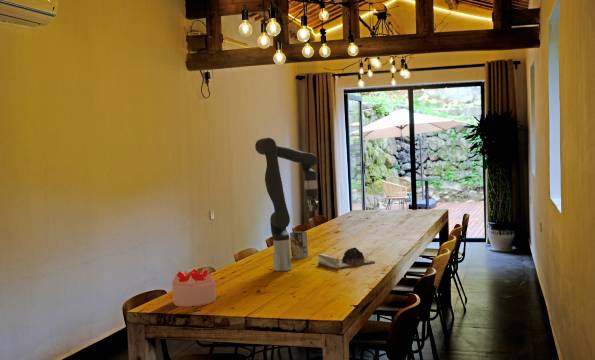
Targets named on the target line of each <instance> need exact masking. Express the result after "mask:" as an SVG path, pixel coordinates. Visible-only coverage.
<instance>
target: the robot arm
mask: <svg viewBox="0 0 595 360" xmlns="http://www.w3.org/2000/svg"><path fill="white" fill-rule="evenodd" d="M254 145H255V146H254V147H255V150H256V152H257V153H258V154H259V155H264V156H265V161H266V168H265V174H264V183H265V184H264V185H265V187H266V191H267V194H268V196H269V198H270V200H271V202H272V205H273V210H274V212H272V213H271V215H270V220H269V223H270V231H271V236H272V240H273V241H272V242H273V243H272V244H273V253H272V259H273V260H272V261H273V270H274V271H275V272H285V271H287V272H288V271H290V270H292V254H291V241H290V233H289V232H288V230H287V227H289V225H290V222H291V218H290V217H291V216H290V214H289V210H288V206H287V204H286V199H285V198H286V197H285V193H284V185H283V180H282V177H281V169H280V165H279V158H281V159H285V160H286V161H291V162H294V163H296V164H297V163H299V164H300V165H301V168H302V171H303V176H304V177H303V178H304V196H305V197H307V198H306V199H307V200H306V201H305V205H306V207H307V209H308V210H309V211H310V217H311V218H315V217H316V211H317V210H318V208H319V205H320V201H318V200H317V196H319V191H318V181H317V180H318V179H317V172H316V170H314V169H313V168H312V167H313V166H315V165H316V166H317V164H318V162H319V160H318V157H317V156H316V155H315V154H314V153H310V152H305V151H301V150H298V149H295V148H293V147H286V146H280V145H277V143H276V141H275V139H274V138H272V137H263V138H260V139H257V141H256V142H255V144H254Z"/></svg>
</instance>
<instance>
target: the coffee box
mask: <svg viewBox="0 0 595 360" xmlns="http://www.w3.org/2000/svg"><path fill="white" fill-rule="evenodd" d="M307 236H308V235H307V231H292V232H289V240H290V254H291V259H306V258H308V257H309V250H308V247H309V246H308V237H307Z"/></svg>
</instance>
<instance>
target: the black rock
mask: <svg viewBox="0 0 595 360" xmlns="http://www.w3.org/2000/svg"><path fill="white" fill-rule="evenodd" d="M341 259H342V262H345V263H361V262H364V261H365V260H364V259H365V256H364V254H363V252H362V251H360V250H359V248H357V247H350V248H348V249H347V250H345V252H344V253H343V256H342V258H341Z"/></svg>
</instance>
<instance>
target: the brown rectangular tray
mask: <svg viewBox="0 0 595 360" xmlns="http://www.w3.org/2000/svg"><path fill="white" fill-rule="evenodd" d="M317 258H318V262H317V265H318V266H321V267H326V268H328V269H332V270H341V269H347V268H353V267H354V268H355V267H359V266H363V265H369V264H370V265H371V264H375V263H376V261H375V260H371V259H368V258H364V260H365V261H364V262H361V263H345V262H342V258H339V257H335V256H333V255H326V254H323V253H318V254H317Z"/></svg>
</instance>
